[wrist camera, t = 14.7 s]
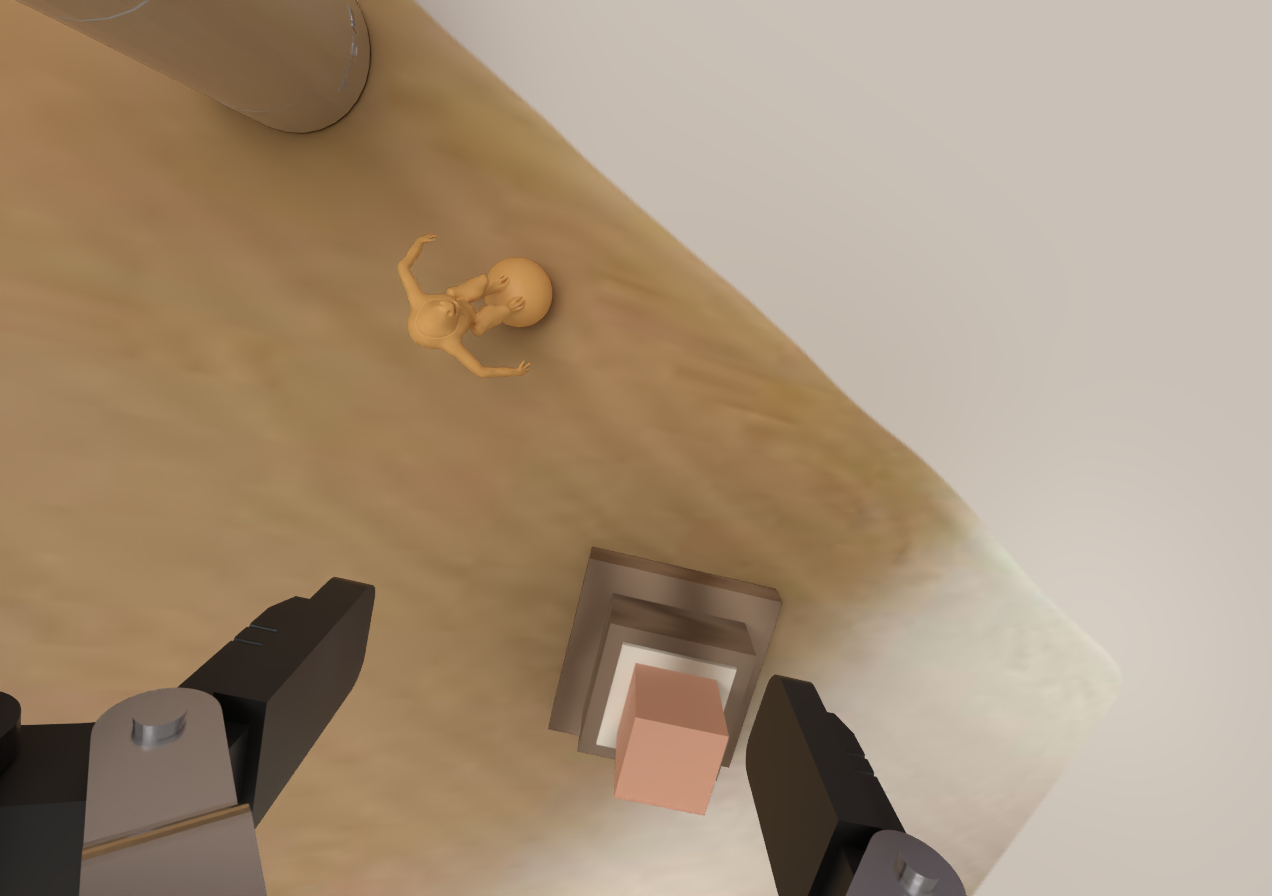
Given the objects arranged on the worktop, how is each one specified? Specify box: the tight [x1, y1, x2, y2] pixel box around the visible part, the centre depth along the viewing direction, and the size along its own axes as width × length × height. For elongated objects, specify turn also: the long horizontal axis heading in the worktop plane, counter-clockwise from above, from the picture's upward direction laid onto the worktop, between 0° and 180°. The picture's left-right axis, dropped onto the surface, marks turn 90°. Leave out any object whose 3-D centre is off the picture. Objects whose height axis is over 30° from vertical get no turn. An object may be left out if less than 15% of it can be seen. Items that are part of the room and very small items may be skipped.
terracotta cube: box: [614, 663, 729, 816], centre depth 35 cm, size 5×5×5 cm
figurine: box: [398, 234, 552, 378], centre depth 32 cm, size 8×6×12 cm
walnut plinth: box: [548, 547, 782, 781], centre depth 40 cm, size 13×13×6 cm
